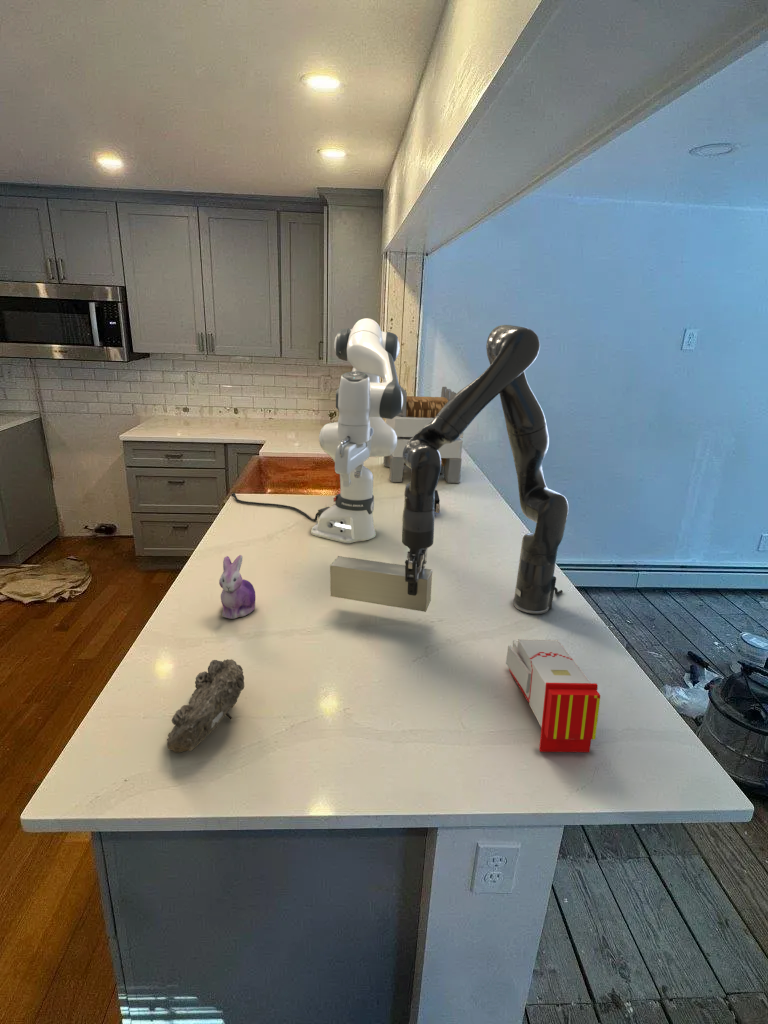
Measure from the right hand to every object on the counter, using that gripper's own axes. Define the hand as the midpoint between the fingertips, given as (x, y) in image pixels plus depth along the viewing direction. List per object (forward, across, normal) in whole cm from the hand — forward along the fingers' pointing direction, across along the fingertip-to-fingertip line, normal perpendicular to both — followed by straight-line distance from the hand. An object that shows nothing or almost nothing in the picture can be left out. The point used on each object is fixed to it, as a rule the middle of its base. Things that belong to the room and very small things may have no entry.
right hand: (415, 588), depth 139 cm
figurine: (+9, -9, +44) cm, 46 cm away
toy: (+10, -21, -32) cm, 40 cm away
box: (+4, 0, +9) cm, 10 cm away
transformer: (+12, +137, +30) cm, 141 cm away
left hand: (-18, +23, +24) cm, 38 cm away
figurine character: (+11, +84, +13) cm, 86 cm away
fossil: (+9, -46, +28) cm, 55 cm away
